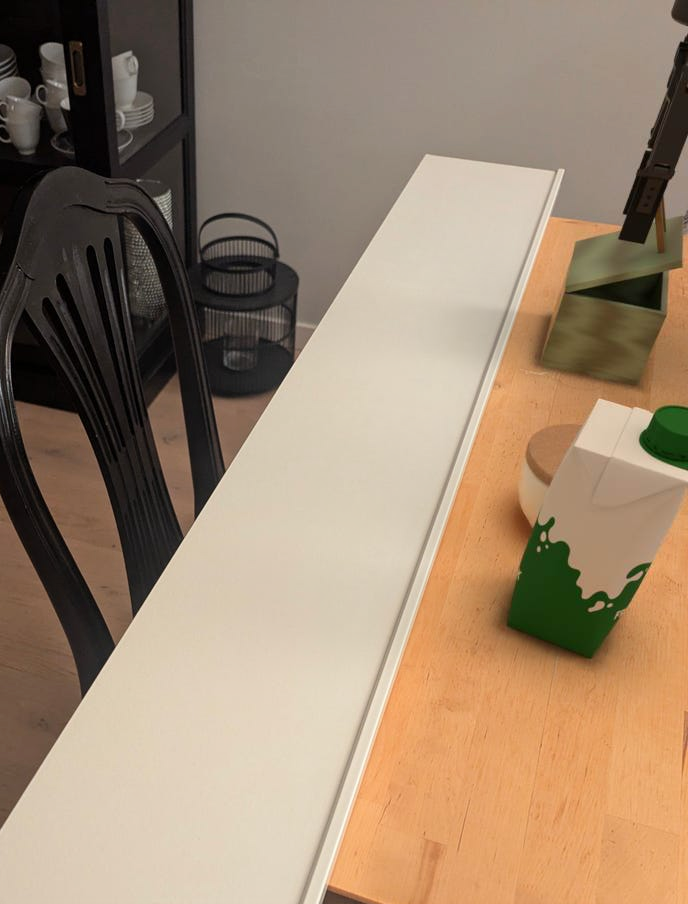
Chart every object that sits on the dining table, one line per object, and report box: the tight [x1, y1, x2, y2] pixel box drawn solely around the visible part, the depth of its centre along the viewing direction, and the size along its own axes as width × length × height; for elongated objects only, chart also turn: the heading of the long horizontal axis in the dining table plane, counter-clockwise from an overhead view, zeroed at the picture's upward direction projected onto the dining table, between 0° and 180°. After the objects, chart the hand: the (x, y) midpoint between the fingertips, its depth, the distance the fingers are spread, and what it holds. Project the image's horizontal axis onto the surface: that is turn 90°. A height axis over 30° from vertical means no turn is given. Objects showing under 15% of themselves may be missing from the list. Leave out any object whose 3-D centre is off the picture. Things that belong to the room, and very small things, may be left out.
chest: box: [539, 257, 670, 387], centre depth 107 cm, size 11×13×9 cm
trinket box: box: [517, 423, 583, 530], centre depth 83 cm, size 11×11×9 cm
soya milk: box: [506, 398, 688, 659], centre depth 70 cm, size 9×9×20 cm
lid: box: [565, 160, 685, 293], centre depth 100 cm, size 12×13×9 cm
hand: (633, 227), depth 100 cm, fingers closed on lid, 7 cm apart
